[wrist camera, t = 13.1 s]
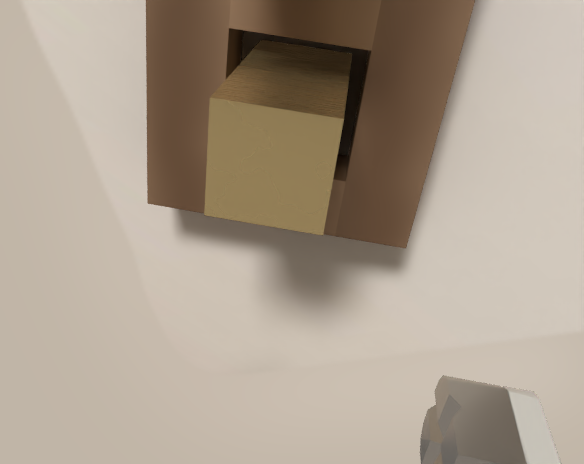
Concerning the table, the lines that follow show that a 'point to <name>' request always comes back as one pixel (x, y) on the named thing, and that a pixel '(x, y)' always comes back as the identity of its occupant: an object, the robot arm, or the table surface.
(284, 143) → the block
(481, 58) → the table surface
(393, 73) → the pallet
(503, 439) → the robot arm
